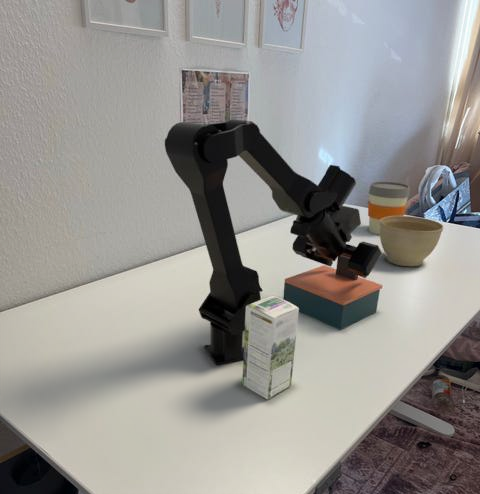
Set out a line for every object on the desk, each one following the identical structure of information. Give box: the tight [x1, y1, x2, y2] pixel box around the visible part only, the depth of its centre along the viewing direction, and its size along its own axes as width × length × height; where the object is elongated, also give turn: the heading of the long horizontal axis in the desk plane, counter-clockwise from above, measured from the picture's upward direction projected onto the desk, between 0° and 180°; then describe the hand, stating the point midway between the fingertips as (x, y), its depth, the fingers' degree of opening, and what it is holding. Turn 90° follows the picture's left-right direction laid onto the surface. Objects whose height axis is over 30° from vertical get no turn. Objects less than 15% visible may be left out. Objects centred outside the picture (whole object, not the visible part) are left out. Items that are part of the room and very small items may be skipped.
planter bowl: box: [379, 215, 445, 267], centre depth 130 cm, size 16×16×11 cm
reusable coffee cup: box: [367, 181, 411, 236], centre depth 155 cm, size 13×13×15 cm
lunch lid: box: [284, 255, 383, 306], centre depth 100 cm, size 13×16×5 cm
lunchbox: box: [282, 282, 381, 331], centre depth 102 cm, size 13×16×5 cm
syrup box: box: [241, 295, 300, 400], centre depth 74 cm, size 6×6×14 cm
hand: (348, 270), depth 104 cm, fingers open, 9 cm apart
